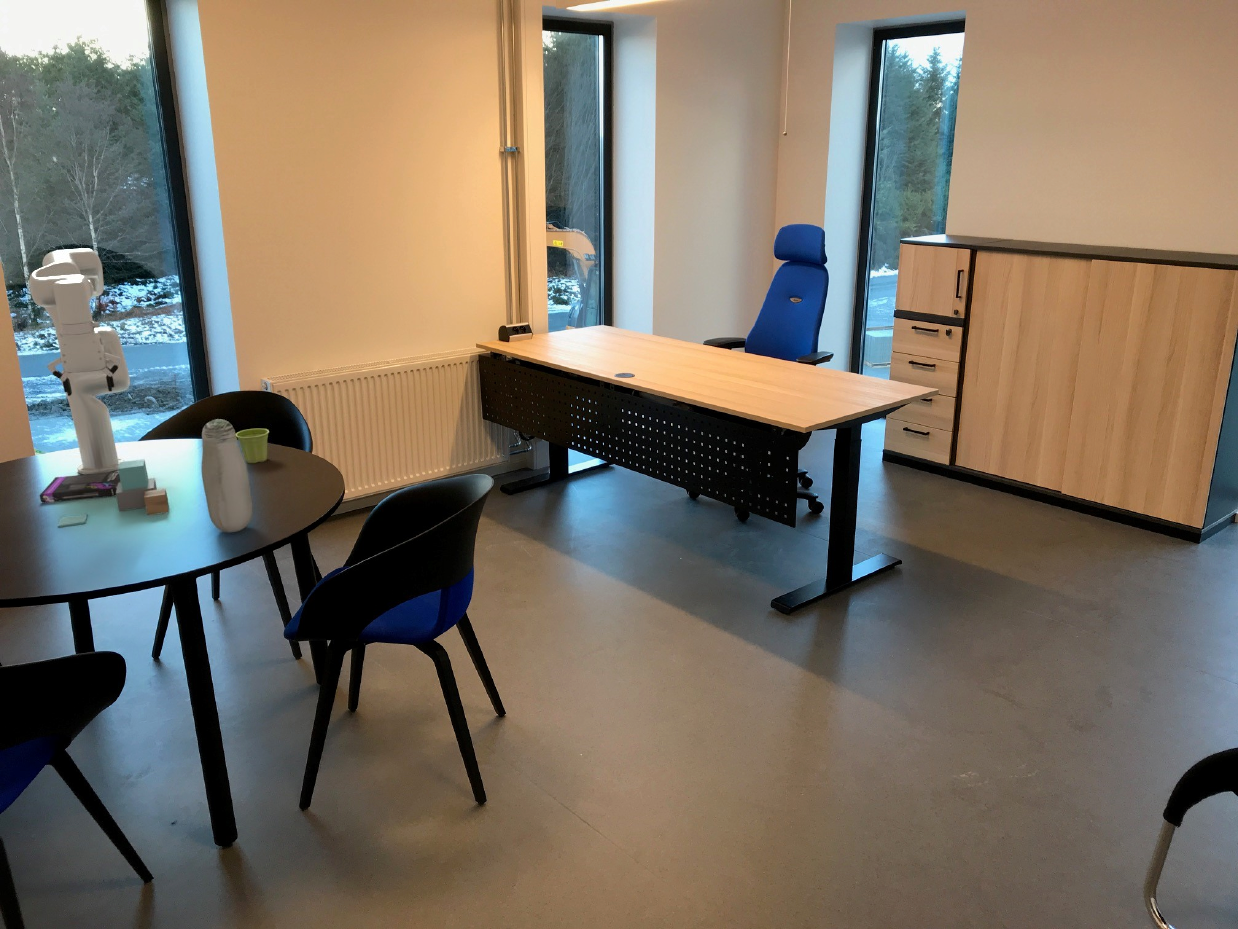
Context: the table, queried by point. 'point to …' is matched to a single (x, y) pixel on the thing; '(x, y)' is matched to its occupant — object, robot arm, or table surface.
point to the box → (81, 487)
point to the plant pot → (253, 444)
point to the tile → (73, 520)
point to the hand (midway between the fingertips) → (90, 392)
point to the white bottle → (225, 477)
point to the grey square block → (133, 496)
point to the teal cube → (133, 474)
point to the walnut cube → (156, 501)
